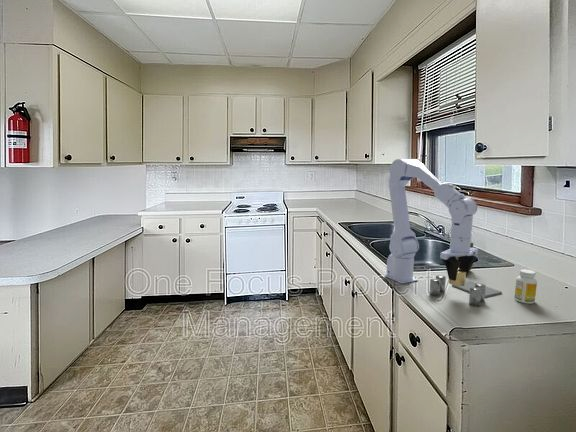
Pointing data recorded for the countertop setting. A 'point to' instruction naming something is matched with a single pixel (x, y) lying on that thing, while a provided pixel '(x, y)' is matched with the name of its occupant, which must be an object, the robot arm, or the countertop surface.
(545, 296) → the countertop surface
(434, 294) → the cylinder
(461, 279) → the nut
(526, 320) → the countertop surface
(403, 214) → the robot arm
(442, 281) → the cylinder
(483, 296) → the cylinder
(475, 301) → the cylinder
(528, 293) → the supplement bottle
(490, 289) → the mat
